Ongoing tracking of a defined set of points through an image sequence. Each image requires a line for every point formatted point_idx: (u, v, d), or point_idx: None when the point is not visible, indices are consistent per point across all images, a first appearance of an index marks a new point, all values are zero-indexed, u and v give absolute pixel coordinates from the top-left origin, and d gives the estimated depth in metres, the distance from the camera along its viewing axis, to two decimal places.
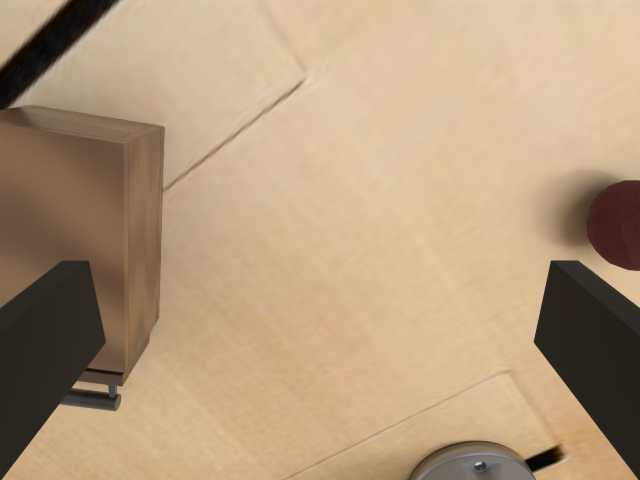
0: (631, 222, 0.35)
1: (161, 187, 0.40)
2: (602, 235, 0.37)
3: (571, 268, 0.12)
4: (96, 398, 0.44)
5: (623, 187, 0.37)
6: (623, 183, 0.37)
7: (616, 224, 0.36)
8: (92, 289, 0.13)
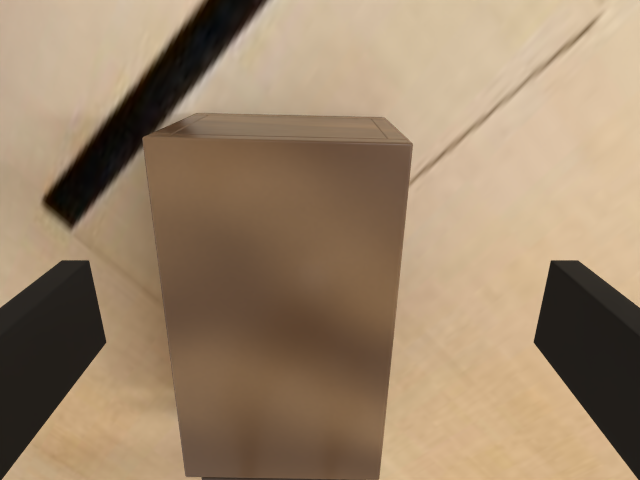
0: None
1: None
2: None
3: (571, 268, 0.12)
4: None
5: None
6: None
7: None
8: (92, 290, 0.13)
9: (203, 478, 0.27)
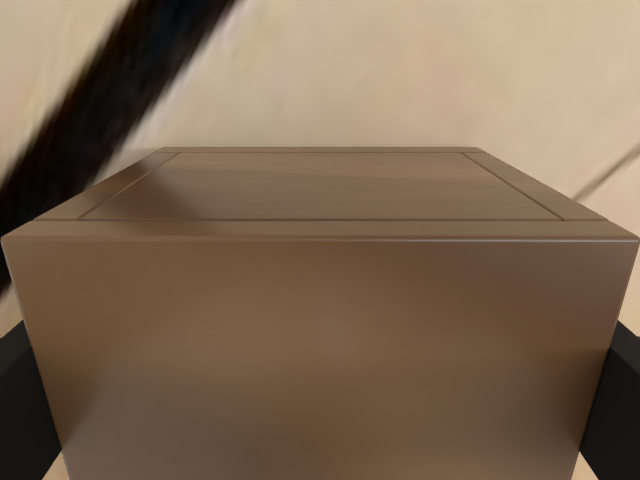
0: None
1: None
2: None
3: None
4: None
5: None
6: None
7: None
8: None
9: None
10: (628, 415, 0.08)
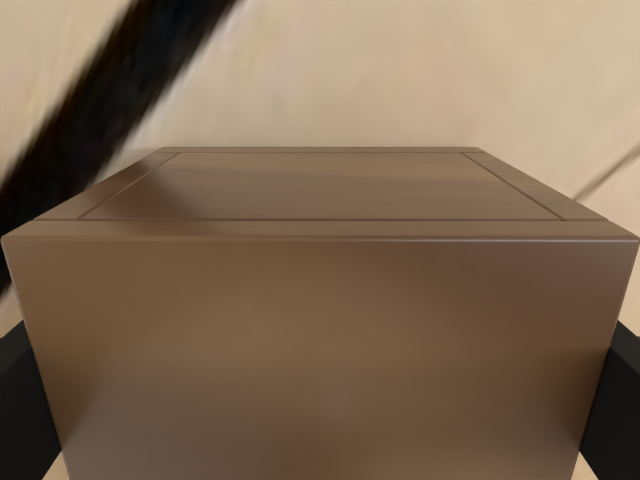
0: None
1: None
2: None
3: None
4: None
5: None
6: None
7: None
8: None
9: None
10: (628, 415, 0.08)
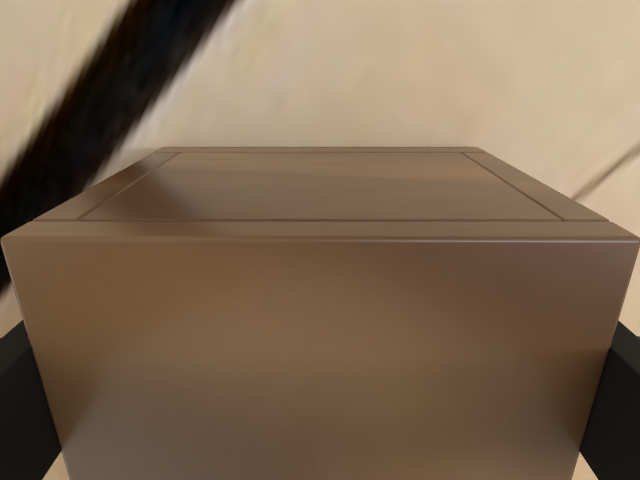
0: None
1: None
2: None
3: None
4: None
5: None
6: None
7: None
8: None
9: None
10: (628, 415, 0.08)
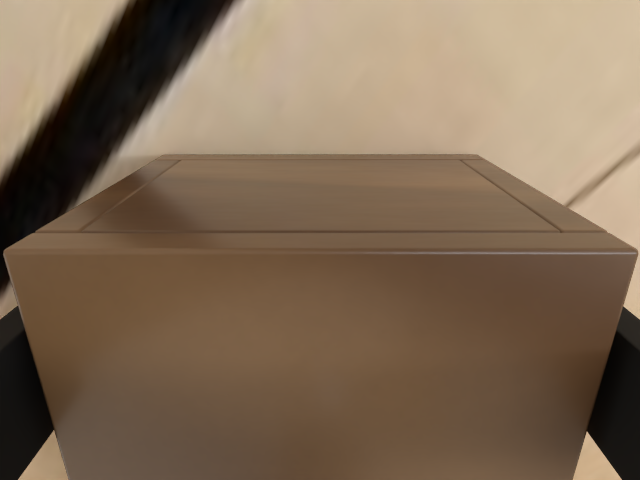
0: None
1: None
2: None
3: None
4: None
5: None
6: None
7: None
8: None
9: None
10: None
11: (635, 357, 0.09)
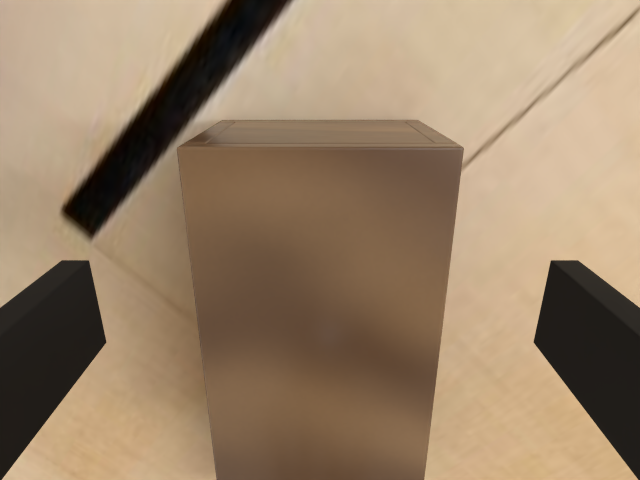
0: None
1: None
2: None
3: (571, 268, 0.12)
4: None
5: None
6: None
7: None
8: (92, 289, 0.13)
9: None
10: None
11: None
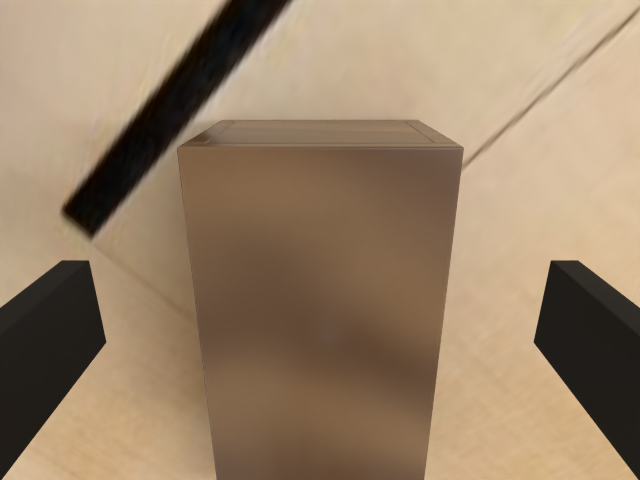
0: None
1: None
2: None
3: (571, 268, 0.12)
4: None
5: None
6: None
7: None
8: (92, 290, 0.13)
9: None
10: None
11: None
